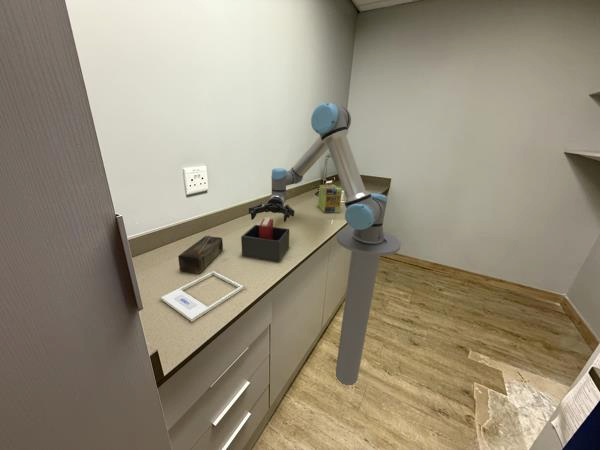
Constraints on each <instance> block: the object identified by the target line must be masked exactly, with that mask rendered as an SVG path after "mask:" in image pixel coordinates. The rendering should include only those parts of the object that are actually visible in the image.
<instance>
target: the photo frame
mask: <svg viewBox="0 0 600 450" xmlns="http://www.w3.org/2000/svg"><path fill="white" fill-rule="evenodd" d="M212 276H215V277H217V278H219V279H220V280H223V281H224V282H226V283H228V284H229V285H232V286H234V287H236V289H234V290H232V291H231V292H229V293H228V294H226V295H224V296H222V297H221V298H219V299H218V300H217V301H215V302H213V303H211V304H210V305H208V306H207V305H206V304H204V303H202V302H201V301H199V300H198V299H196V298H194V297H193V296H191V295H190V294H188V293H186V292H185V290H187V289H189V288H191V287H192V286H194V285H197V284H198V283H200V282H202V281H204V280H206V279H208V278H210V277H212ZM242 290H244V285H242V284H240V283H238V282H236V281H234V280H232V279H230V278H228V277H226V276H224V275H223V274H220V273H218V272H216V271H214V270H213V271H210V272H209V273H207V274H205V275H202V276H201V277H199V278H197V279H195V280H192V281H191V282H188V283H187V284H184V285H183V286H181V287H179V288H177V289H174V290H173V291H171V292H168V293H166V294H164V295H163V296H161V297H160V298H161V299H160V300H161V301H162V302H164V303H165V304H166V305H168V306H169V307H171V308H172V309H173V310H175V311H176V312H178V313H179V314H180V315H182V316H183V317H184V318H186V319H187V320H189V321H190V322H191V323H193V322H194V321H196V320H198V319H199V318H201V317H202V316H204V315H205V314H207V313H208V312H210V311H211V310H213V309H214V308H216V307H218V306H219V305H221V304H222V303H224V302H225V301H227V300H228V299H230V298H232V297H233V296H234V295H236V294H238V293H239V292H241V291H242Z"/></svg>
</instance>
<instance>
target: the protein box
mask: <svg viewBox="0 0 600 450" xmlns="http://www.w3.org/2000/svg"><path fill="white" fill-rule="evenodd" d="M318 188H319V189H318V201H317V202H318V203H317V207H318V208H319V209H320V210H321V211H322V212H323V213H324V214H335V213H337V214H339V213H340V210H341V202H342V201H341V200H342V192H343V188H341V187H339V186H338V185H335V184H323V183H321V184H319V187H318Z"/></svg>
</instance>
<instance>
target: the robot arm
mask: <svg viewBox="0 0 600 450" xmlns="http://www.w3.org/2000/svg"><path fill="white" fill-rule="evenodd" d="M351 123H352V117H351V113H350V111H349V109H347V108H346V107H344V106H341V105H337V104H334V103H332V102H322V103H320V104H318V105H317V106H316V107H315V108H314V109H313V111H312V114H311V118H310V124H311V127H312V130H313V131H314V132H315V133H316V134H319V135H318V136H317V137H316V138H315V140H314V141H313V142H312V143H311V144H310V145H309V147H308V148H307V149H306V150H305V152H304V153H303V154H302V155H301V156H300V157H299V159H298V160H296V161H295V164H294V165H293V166H292V167H291V168H290V169H289V170H287V169H286V168H283V167H282V168H281V167H277V168H276V167H275V168H272V170H271V176H270V178H271V197H269V199H268V201H267V203H265V204H263V202H259V203H258V204H256V205H253V206H250V207H248V214H250V220H251V221H254V220H255V218H256V217H257V215H258V214H262V213H273V214H282V215H283V222H285V223H286V221H287V219H289V218H290V217H295V209H293V208H292V207H290V205H289V204H286V205H285V203H286V201H287V186H290V185H291V186H292V185H295V184H299V183H301V182H302V181H303V180H304V176H305V174H306V173H308V171H309V170H310V169H311V168H312V167H313V166H314V165H315V164H316V162H317V161H318V160H319V159H320V158H321V157H322V156H323V155H324V154H325V153H326V152H327V150H328V151H329V155H330V157H331V159H332V162H333V165H334V167H335V170H336V173H337V176H338V179H339V181H340V185H341V187H342V191H343V193H344V196H345V199H344V203H343V204H344V206H345V212H344V218H345V221H346V223H347V225H348V226H350V228H352V227H353V228H354V232H353V235H352V237H353V239H354V240H356V241H357V242H360V243H363V244H368V245H378V244H382V243H383V242H384V241H385V242H387V241H386V240H385V239H384V233H383V231H384V228H383V225H384V219H385V215H386V208H387V204H388V197H387V195H385V194H381V193H375V192H369V191H367V190H366V188H365V184H364V182H363V179H362V177H361V173H360V171H359V168H358V165H357V163H356V159H355V157H354V154H353V151H352V149H351V145H350V142H349V139H348V134H349V129H350V128H351Z"/></svg>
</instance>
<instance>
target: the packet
mask: <svg viewBox="0 0 600 450" xmlns="http://www.w3.org/2000/svg"><path fill="white" fill-rule="evenodd" d="M258 225H259V233H260V238H262V239H269V240H273V227H274V218H273V219H272V218H271V217H265V218H263V219H262V220H261V222H260V224H258Z"/></svg>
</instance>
